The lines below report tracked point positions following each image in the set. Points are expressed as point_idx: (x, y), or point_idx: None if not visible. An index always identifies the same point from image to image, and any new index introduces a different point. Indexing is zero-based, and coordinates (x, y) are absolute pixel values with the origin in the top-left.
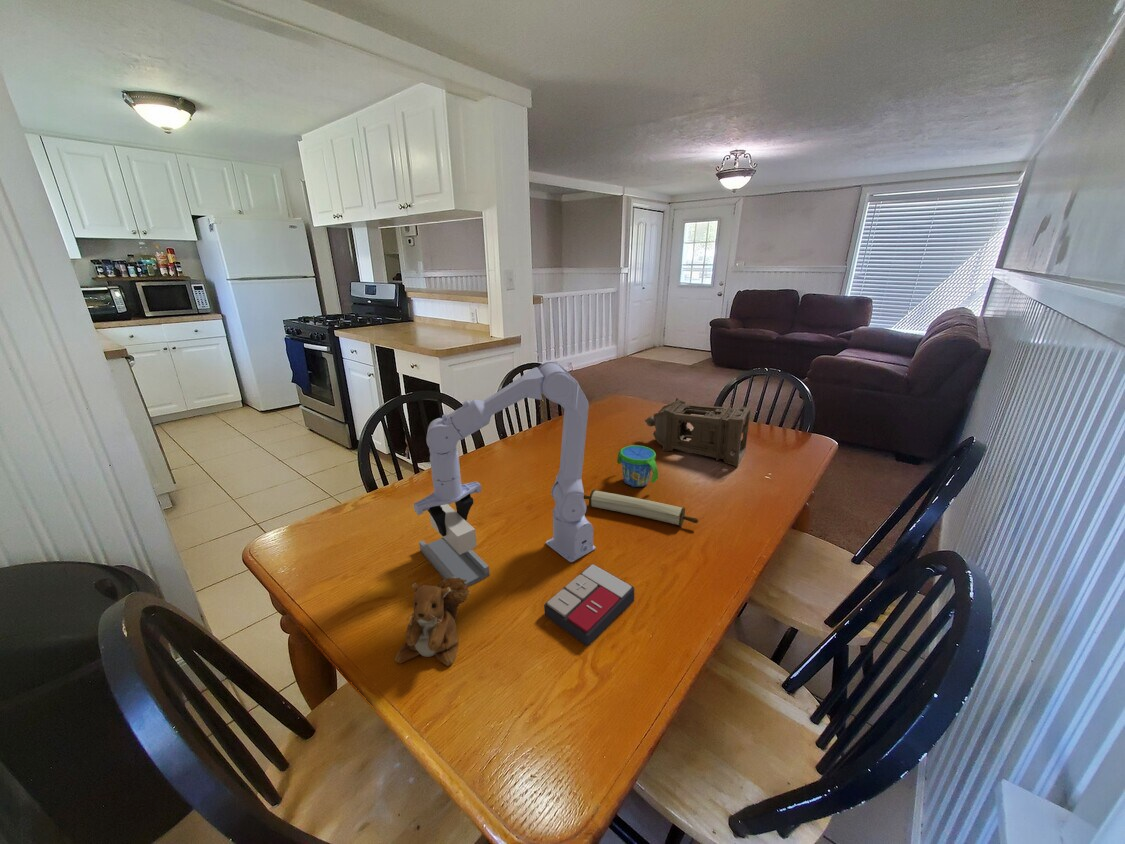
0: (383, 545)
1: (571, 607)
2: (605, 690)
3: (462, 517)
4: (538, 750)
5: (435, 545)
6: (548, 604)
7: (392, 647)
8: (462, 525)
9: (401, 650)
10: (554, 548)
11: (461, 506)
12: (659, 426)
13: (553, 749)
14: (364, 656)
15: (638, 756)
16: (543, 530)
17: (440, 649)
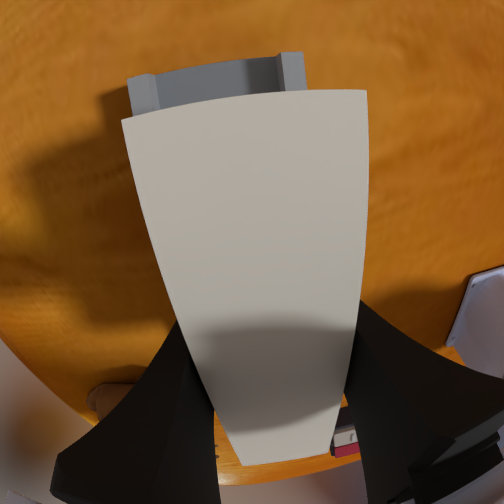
0: (41, 6)
1: (351, 442)
2: (304, 462)
3: (346, 385)
4: (224, 472)
5: (200, 99)
6: (333, 435)
7: (77, 375)
8: (299, 436)
9: (93, 409)
10: (463, 307)
11: (371, 461)
12: None
13: (235, 473)
14: (42, 366)
15: (285, 478)
16: (500, 226)
17: None
